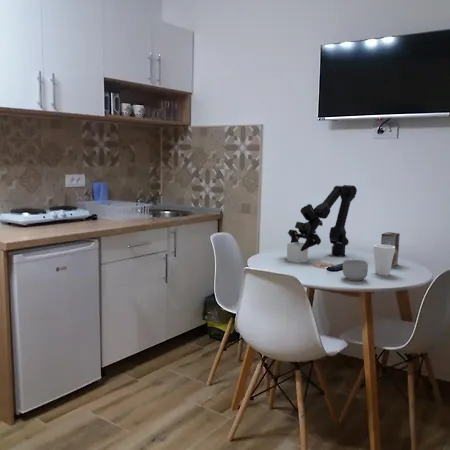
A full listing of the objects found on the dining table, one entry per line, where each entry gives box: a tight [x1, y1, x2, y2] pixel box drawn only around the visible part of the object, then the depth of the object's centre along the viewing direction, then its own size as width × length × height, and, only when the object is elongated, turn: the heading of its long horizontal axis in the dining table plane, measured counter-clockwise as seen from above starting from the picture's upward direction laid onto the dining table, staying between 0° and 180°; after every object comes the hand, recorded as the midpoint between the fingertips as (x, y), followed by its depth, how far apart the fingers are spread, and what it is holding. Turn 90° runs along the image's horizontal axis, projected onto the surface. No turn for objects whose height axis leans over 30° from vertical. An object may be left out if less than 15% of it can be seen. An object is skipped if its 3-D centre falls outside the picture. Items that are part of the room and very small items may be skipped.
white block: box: [286, 241, 309, 264], centre depth 234 cm, size 7×7×9 cm
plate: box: [310, 262, 337, 270], centre depth 225 cm, size 13×13×1 cm
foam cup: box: [373, 243, 395, 276], centre depth 213 cm, size 10×9×13 cm
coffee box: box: [380, 231, 401, 268], centre depth 233 cm, size 9×6×16 cm
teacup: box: [342, 258, 369, 282], centre depth 204 cm, size 14×11×8 cm
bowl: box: [320, 259, 330, 267], centre depth 225 cm, size 4×4×2 cm
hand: (295, 249), depth 233 cm, fingers closed on white block, 7 cm apart
